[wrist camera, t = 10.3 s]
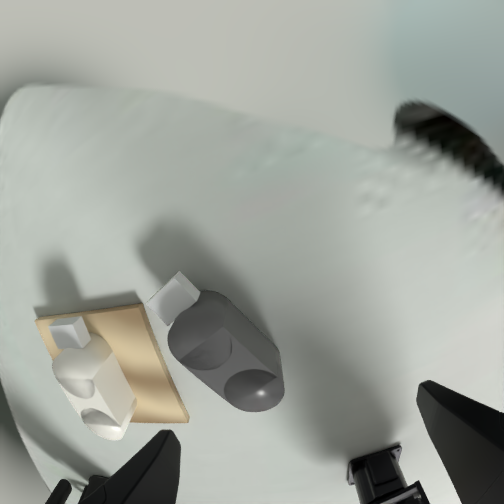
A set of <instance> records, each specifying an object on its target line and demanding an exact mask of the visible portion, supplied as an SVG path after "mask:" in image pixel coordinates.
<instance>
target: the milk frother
mask: <svg viewBox="0 0 504 504" xmlns="http://www.w3.org/2000/svg"><path fill="white" fill-rule="evenodd" d="M107 480H108V478H105V477H100V476H92V477H90V478H89V484H88V486H87V485H86V486H85V488H84V490H83V493H82V495H81V497H80V500H79V502H81V501H82V500H83V499H85V498H86V497H88V496H89V495H90V494H92V493H93V492H94V491H95V490H96V489H98V488H99V487H100V486H101V485H102V484H104V483H105V482H106V481H107ZM71 491H72V487H71V484H70V483H69V481H68V480H65V479H61V480H60V481H59V483H58V484H57V486H56V487H55V489H54V490H53V492H52V493H51V495H50V497H49V498H48V500H47V502H46V503H45V504H65V502H66V500H67V498H68V496H69V495H70V493H71ZM79 502H78V503H79Z"/></svg>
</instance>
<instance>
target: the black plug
mask: <svg viewBox="0 0 504 504" xmlns="http://www.w3.org/2000/svg"><path fill="white" fill-rule="evenodd" d="M146 305H147V306H148V307H149V308H150V309H151V310H152V311H153V312H154V313H155V314H156V315H157V316H158V317H159V318H160V319H161V320H162V321H163V322H164V323H165V324H166V325H167V326H168V325H169V324H171V323H172V322H173V321H174V320H175V321H174V323H173V325H172V327H171V328H170V330H169V333H168V346H169V349H170V351H171V353H172V354H173V356H174V357H175V358H176V359H177V360H178V361H179V362H180V363H181V364H182V365H183V366H185V367H186V368H187V369H188V370H189V371H190V372H192V373H193V374H194V375H195V376H196V377H197V378H199V379H200V380H201V381H202V382H203V383H205V384H206V385H207V386H208V387H210V388H211V389H212V390H213V391H215V392H216V393H217V394H218V395H220V396H221V397H222V398H223V399H225V400H226V401H227V402H229V403H230V404H231V405H233V406H234V407H236V408H238V409H240V410H243V411H248V412H261V411H265V410H268V409H271V408H273V407H274V406H276V405H277V404H278V403H279V402H280V401H281V400H282V398H283V396H284V391H285V390H284V382H283V374H282V366H281V359H280V353H279V351H278V349H277V347H276V346H275V345H274V344H273V343H272V342H271V341H270V340H269V339H268V338H267V337H266V336H265V335H264V334H263V333H262V332H260V331H259V330H258V329H257V328H256V327H255V326H254V325H253V324H252V323H251V322H250V321H249V320H248V319H247V318H246V317H245V316H244V315H243V314H242V313H241V312H240V311H239V310H238V309H237V308H236V307H235V306H234V305H233V304H232V303H231V302H230V301H229V300H228V299H227V298H226V297H225V296H223V295H222V294H220V293H217V292H214V291H199V290H198V289H197V288H196V287H195V286H194V285H193V284H192V283H191V282H190V281H189V280H188V279H187V278H186V277H185V276H184V275H183V274H182V273H181V272H180V271H179V272H177V273H176V274H175V275H174V276H173V277H172V278H171V279H170V280H169V281H168V282H167V283H166V284H165V285H164V286H163V287H161V288H160V289H159V290H158V291H157V292H156V293H155V294H154V295H153V296H152V297H151V298H150V300H149V301H148V302H147V303H146Z"/></svg>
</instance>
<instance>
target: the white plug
mask: <svg viewBox="0 0 504 504" xmlns="http://www.w3.org/2000/svg"><path fill="white" fill-rule="evenodd" d="M48 328H49V330H50V332H51V335H52V337H53V339H54V341H55V343H56V345H57V348H58V349H64V350H63V351H62V352H61V353H60V354H59V355H58V356H57V357H56V358H55V359H54V361H53V364H52V368H53V372H54V375H55V377H56V379H57V380H58V382H59V384H60V386H61V387H62V389H63V391H64V392H65V394H66V396H67V397H68V399H69V401H70V402H71V404H72V405H73V407H74V409H75V410H76V412H77V413H78V415H79V416H80V418H81V419H82V421H83V422H84V423H85V425H86V426H87V427H88V428H89V429H90V430H91V431H93V432H94V433H95V434H97V435H99V436H100V437H103V438H105V439H108V440H120V439H121V438H122V437H123V435H124V433H125V431H126V429H127V426H128V424H129V422H130V420H131V418H132V416H133V414H134V411H135V409H136V407H137V399H136V397H135V395H134V393H133V391H132V389H131V388H130V386H129V384H128V382H127V380H126V378H125V376H124V374H123V372H122V370H121V368H120V365H119V363H118V361H117V359H116V357H115V355H114V353H113V350H112V348H111V347H110V345H109V344H108V343H107V342H106V341H105V340H104V339H103V338H102V337H100V336H99V335H97V334H95V333H92V332H88V330H87V328H86V326H85V323H84V321H83V318H82V316H79V317H70V318H62V319H57V320H55V321H54V322H53V323H52V324H51V325H49V326H48Z"/></svg>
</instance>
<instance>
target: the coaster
mask: <svg viewBox="0 0 504 504" xmlns="http://www.w3.org/2000/svg"><path fill="white" fill-rule="evenodd" d="M79 316H82V318H83V321H84V323H85V326H86V328H87V330H88V332H92V333H95V334H97V335H99V336H100V337H102V338H103V339H104V340H105V341H106V342H107V343H108V344H109V345H110V347H111V348H112V350H113V353H114V355H115V357H116V359H117V361H118V363H119V365H120V368H121V370H122V372H123V374H124V376H125V378H126V380H127V382H128V384H129V386H130V388H131V389H132V391H133V393H134V395H135V397H136V399H137V407H136V409H135V411H134V414H133V416H132V418H131V420H130V422H135V423H188V421H189V415H188V413H187V411H186V409H185V406H184V404H183V402H182V400H181V398H180V396H179V394H178V391H177V389H176V387H175V385H174V383H173V380H172V378H171V376H170V373H169V371H168V369H167V366H166V364H165V362H164V359H163V357H162V354H161V352H160V349H159V347H158V344H157V342H156V339H155V336H154V334H153V331H152V328H151V326H150V323H149V320H148V317H147V315H146V312H145V309H144V306H143V303H140V304H133V305H127V306H120V307H113V308H106V309H99V310H92V311H84V312H77V313H69V314H61V315H53V316H45V317H39V318H37V319H36V320H35V323H36V325H37V328H38V330H39V332H40V335H41V337H42V339H43V341H44V343H45V345H46V347H47V350H48V352H49V354H50V356H51V358H52V360H53V361H54V359H55V358H56V357H57V356H58V355H59V354H60V353H61V352H62V351H63V350H64V349H58V348H57V345H56V343H55V341H54V339H53V337H52V335H51V332H50V330H49V328H48V326H49V325H51V324H52V323H53V322H54V321H55V320H57V319H62V318H70V317H79Z"/></svg>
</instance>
